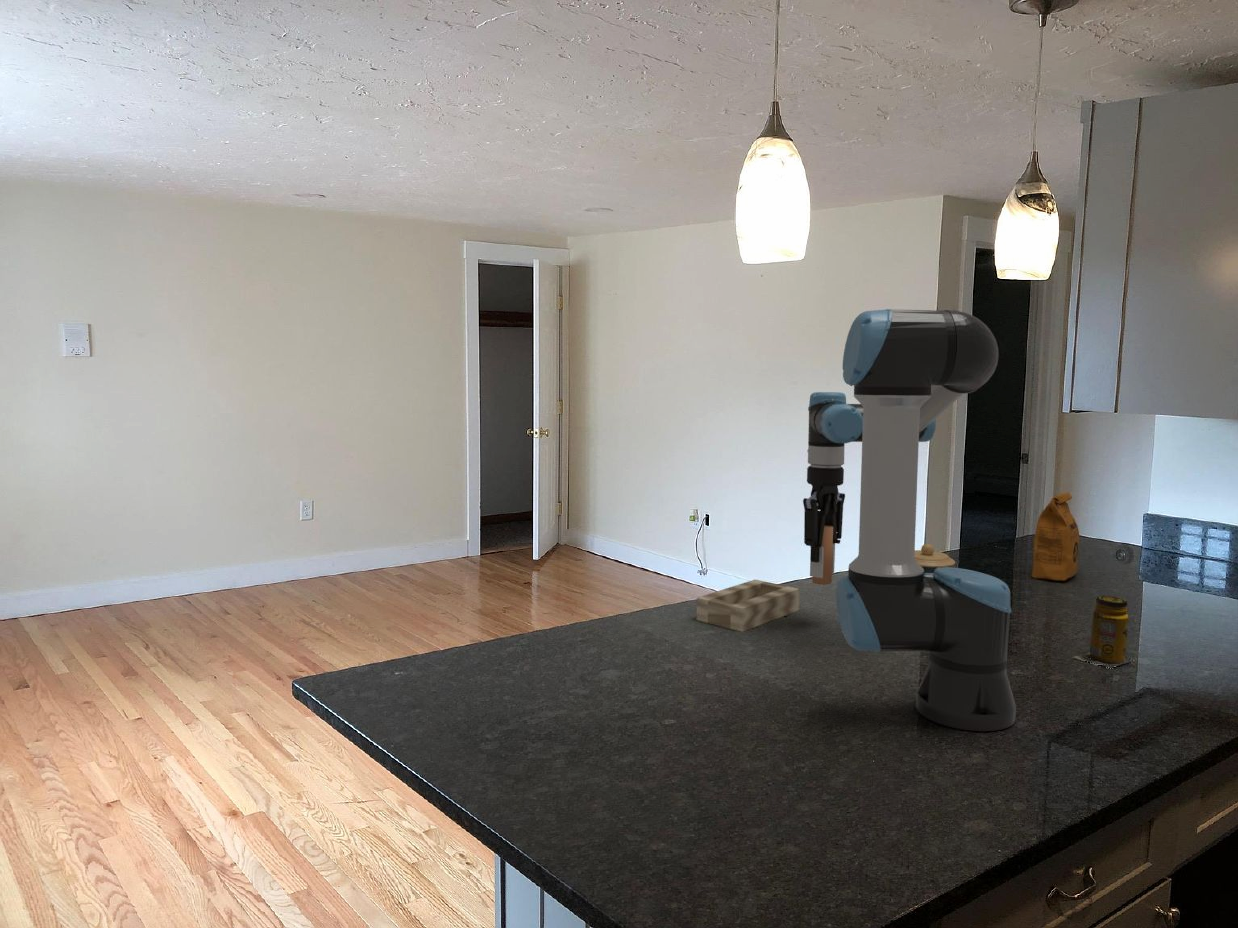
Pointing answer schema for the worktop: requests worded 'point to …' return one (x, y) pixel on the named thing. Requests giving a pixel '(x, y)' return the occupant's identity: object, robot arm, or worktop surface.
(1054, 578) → the coffee package
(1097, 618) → the condiment
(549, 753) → the worktop surface
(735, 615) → the socket block
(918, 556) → the canister
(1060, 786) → the worktop surface
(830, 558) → the peg
